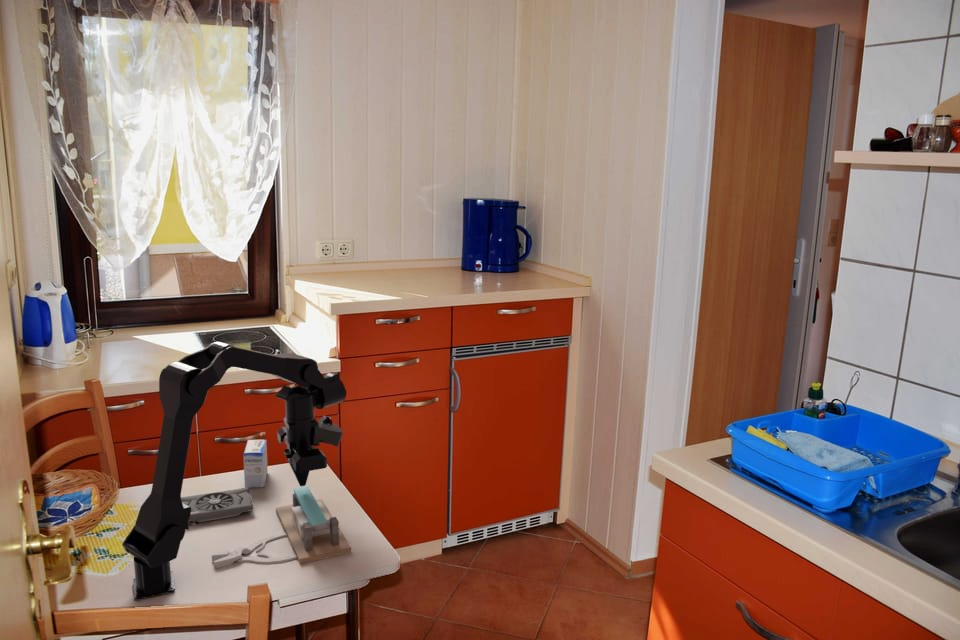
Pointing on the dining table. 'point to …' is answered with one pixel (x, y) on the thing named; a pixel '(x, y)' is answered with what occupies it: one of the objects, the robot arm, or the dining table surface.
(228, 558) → the pliers
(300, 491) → the lever
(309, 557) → the board
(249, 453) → the medicine box
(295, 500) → the block
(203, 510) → the graphics card
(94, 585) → the dining table surface
